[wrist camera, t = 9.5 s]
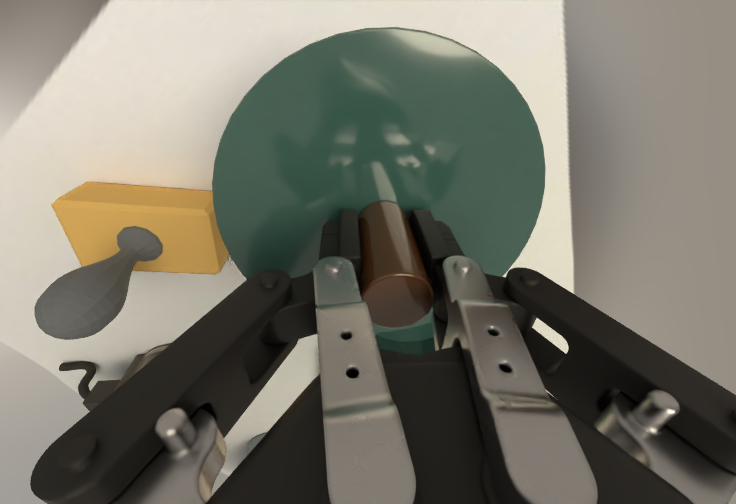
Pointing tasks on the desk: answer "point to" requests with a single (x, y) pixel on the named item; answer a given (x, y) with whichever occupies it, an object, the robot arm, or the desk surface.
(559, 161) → the desk surface
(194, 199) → the rubber stamp
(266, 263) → the lid
